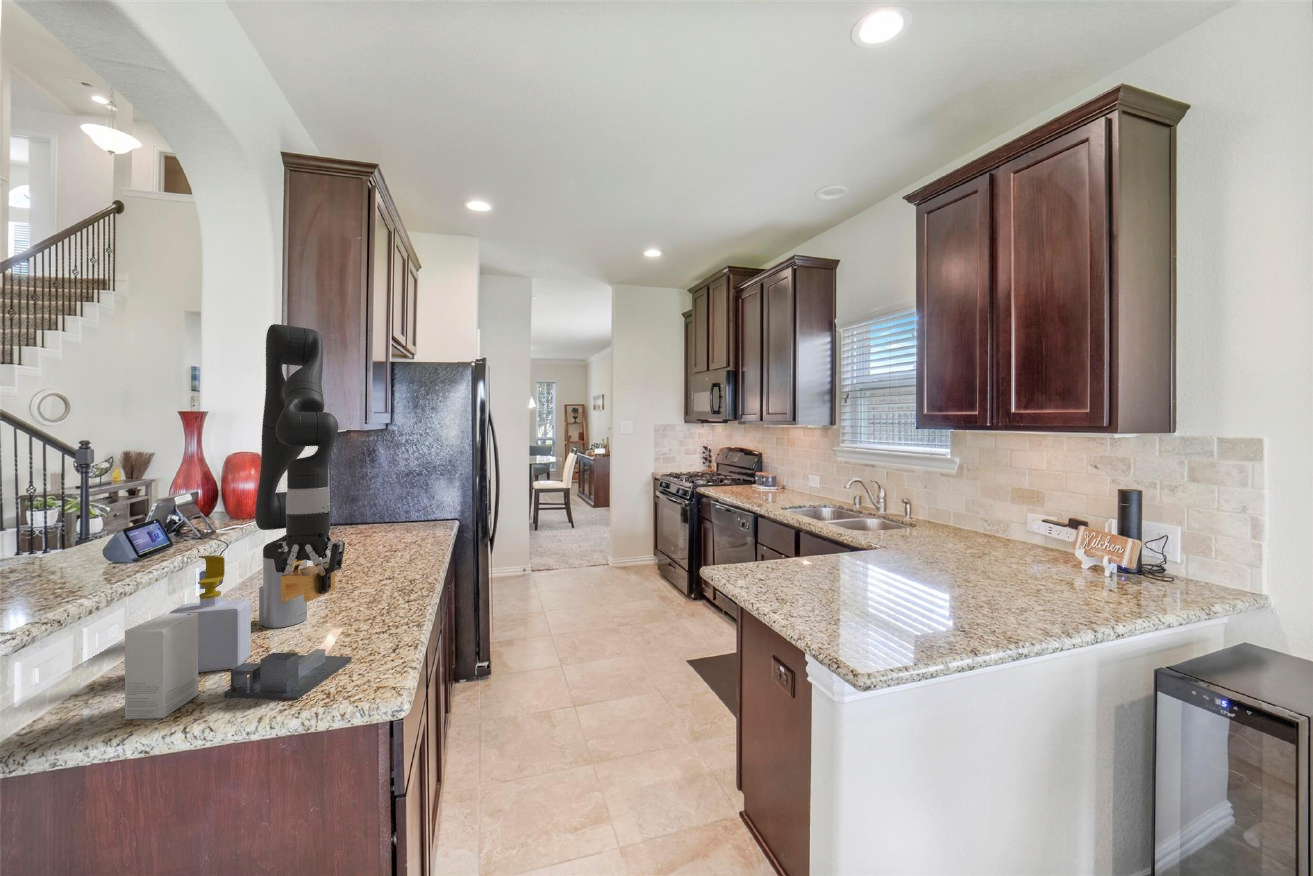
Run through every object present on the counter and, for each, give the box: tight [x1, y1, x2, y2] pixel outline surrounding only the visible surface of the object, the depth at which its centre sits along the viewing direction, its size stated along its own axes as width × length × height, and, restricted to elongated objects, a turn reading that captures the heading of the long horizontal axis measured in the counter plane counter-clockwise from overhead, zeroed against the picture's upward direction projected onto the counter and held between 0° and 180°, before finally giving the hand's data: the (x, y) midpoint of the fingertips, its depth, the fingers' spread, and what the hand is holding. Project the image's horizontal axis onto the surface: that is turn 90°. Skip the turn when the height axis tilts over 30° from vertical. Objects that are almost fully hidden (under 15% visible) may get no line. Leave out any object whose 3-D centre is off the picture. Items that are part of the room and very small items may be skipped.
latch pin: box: [285, 649, 298, 653], centre depth 108 cm, size 2×6×2 cm, turn 178°
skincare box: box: [124, 613, 199, 720], centre depth 94 cm, size 8×7×16 cm
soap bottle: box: [167, 554, 252, 673], centre depth 110 cm, size 12×7×23 cm, turn 108°
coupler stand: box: [223, 648, 352, 700], centre depth 105 cm, size 14×16×7 cm
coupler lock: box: [281, 565, 336, 603], centre depth 107 cm, size 6×8×5 cm
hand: (309, 592), depth 107 cm, fingers closed on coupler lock, 5 cm apart
